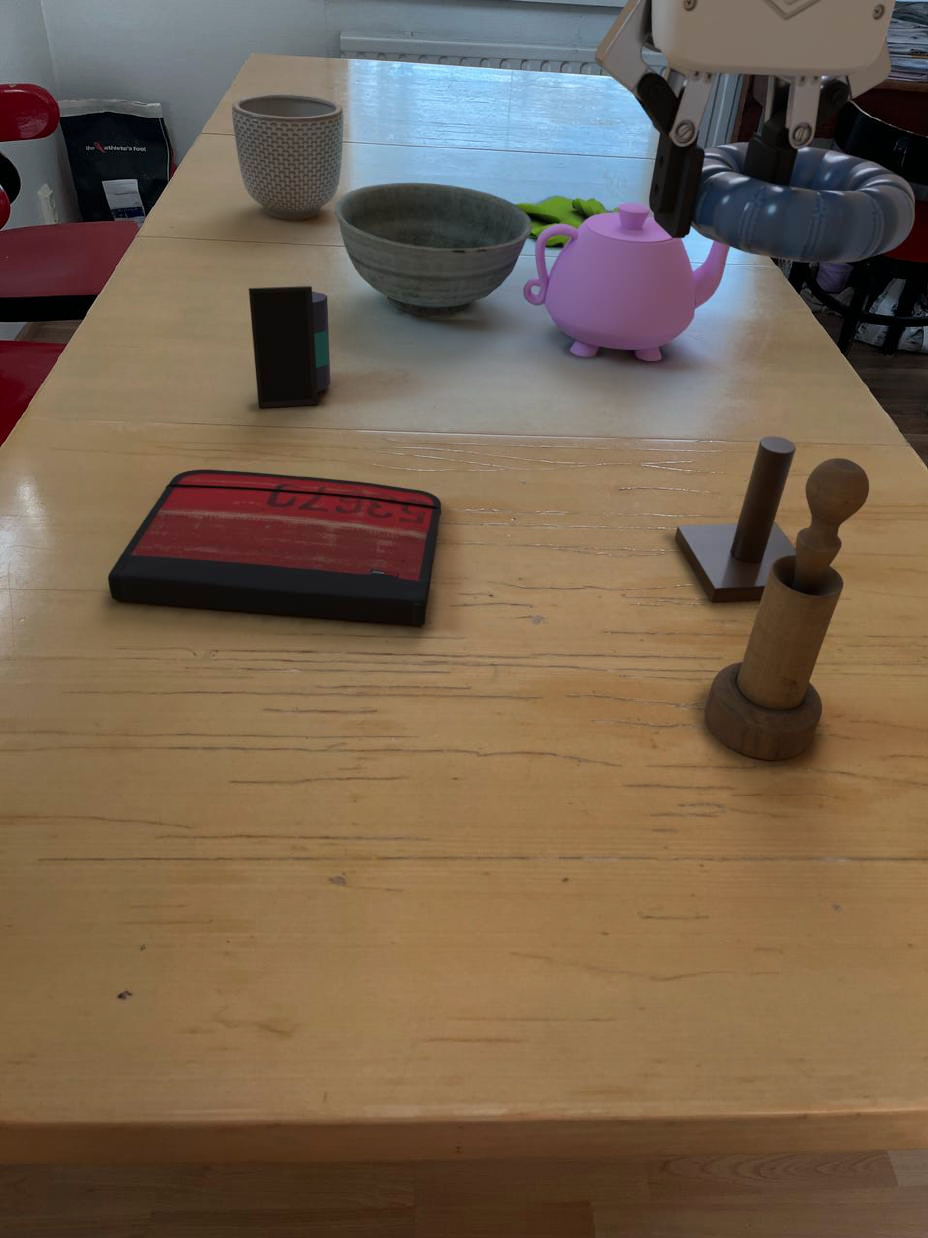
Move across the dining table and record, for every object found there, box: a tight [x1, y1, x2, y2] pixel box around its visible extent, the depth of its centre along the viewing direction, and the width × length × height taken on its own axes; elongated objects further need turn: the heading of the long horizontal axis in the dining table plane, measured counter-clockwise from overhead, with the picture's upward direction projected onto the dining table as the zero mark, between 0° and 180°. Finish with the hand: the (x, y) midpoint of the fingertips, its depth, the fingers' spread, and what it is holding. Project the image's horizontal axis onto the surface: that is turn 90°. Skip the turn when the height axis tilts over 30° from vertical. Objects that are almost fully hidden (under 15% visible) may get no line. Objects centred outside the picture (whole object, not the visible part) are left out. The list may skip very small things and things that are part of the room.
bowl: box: [333, 182, 532, 318], centre depth 108 cm, size 21×21×10 cm
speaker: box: [248, 285, 331, 409], centre depth 89 cm, size 8×6×10 cm
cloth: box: [514, 195, 619, 248], centre depth 137 cm, size 20×22×2 cm
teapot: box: [522, 202, 731, 362], centre depth 102 cm, size 22×16×14 cm
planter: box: [231, 93, 345, 221], centre depth 130 cm, size 14×14×13 cm
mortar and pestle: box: [704, 457, 870, 761], centre depth 56 cm, size 7×6×18 cm
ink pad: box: [107, 469, 442, 627], centre depth 72 cm, size 16×2×21 cm
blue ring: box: [691, 141, 916, 263], centre depth 48 cm, size 11×11×3 cm
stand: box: [674, 435, 797, 603], centre depth 71 cm, size 8×8×10 cm
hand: (711, 225), depth 48 cm, fingers closed on blue ring, 3 cm apart
